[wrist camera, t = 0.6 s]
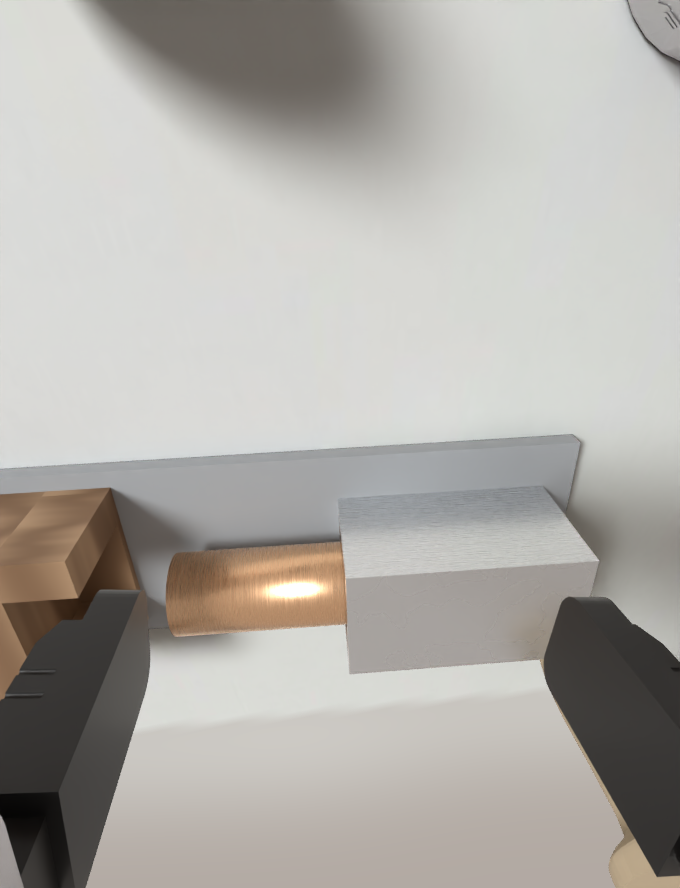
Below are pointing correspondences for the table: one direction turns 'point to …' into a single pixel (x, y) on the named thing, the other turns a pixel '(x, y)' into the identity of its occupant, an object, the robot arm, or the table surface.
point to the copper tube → (256, 589)
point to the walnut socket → (55, 565)
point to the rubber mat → (287, 492)
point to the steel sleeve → (457, 576)
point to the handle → (627, 848)
